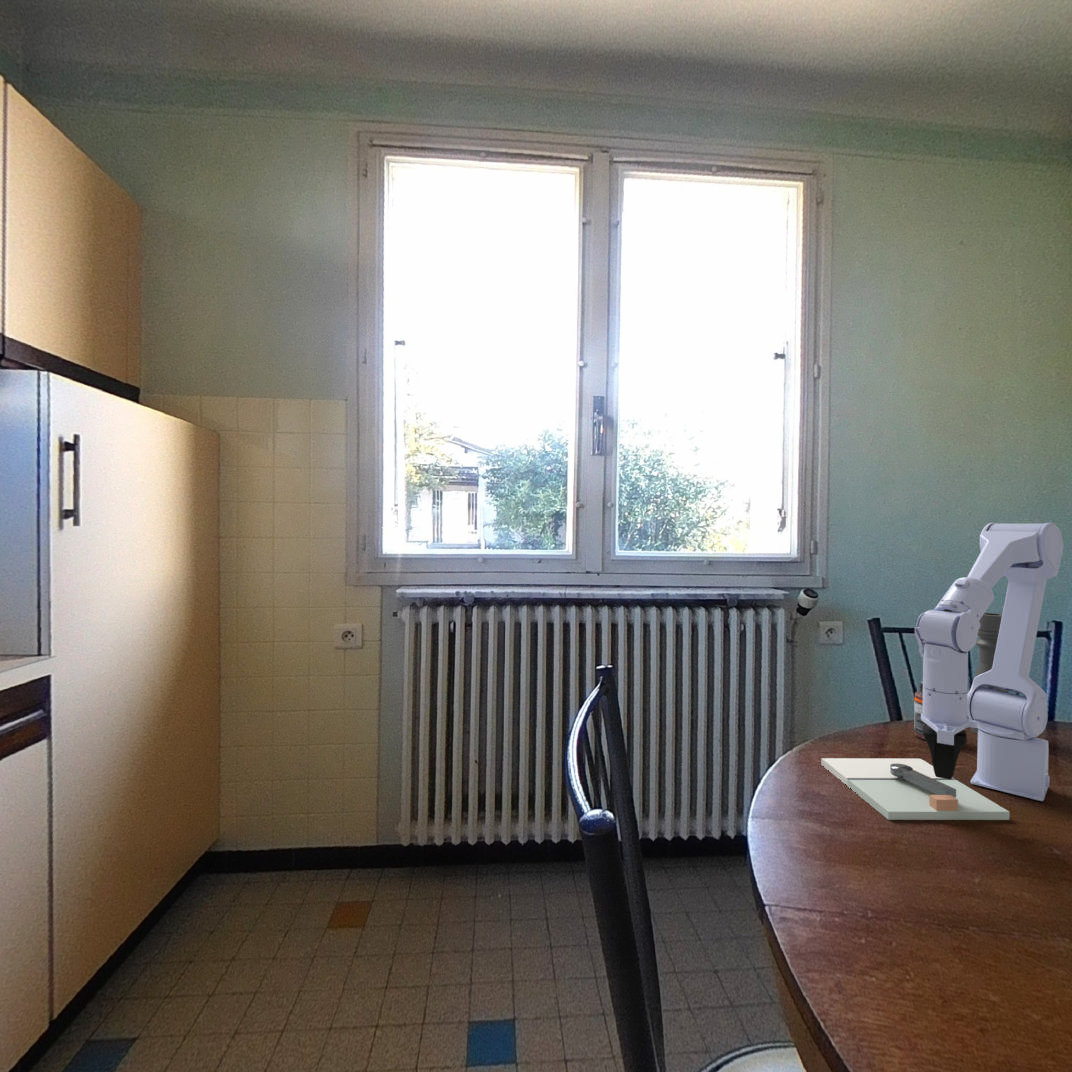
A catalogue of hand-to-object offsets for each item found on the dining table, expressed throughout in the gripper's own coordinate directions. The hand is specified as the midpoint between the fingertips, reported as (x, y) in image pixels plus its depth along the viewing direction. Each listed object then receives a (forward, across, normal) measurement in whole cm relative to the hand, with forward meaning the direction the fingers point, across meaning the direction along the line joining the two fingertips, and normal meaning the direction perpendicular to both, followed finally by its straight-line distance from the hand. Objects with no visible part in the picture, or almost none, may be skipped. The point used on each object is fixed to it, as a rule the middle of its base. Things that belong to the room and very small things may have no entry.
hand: (943, 776), depth 94 cm
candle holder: (+5, +46, -9) cm, 47 cm away
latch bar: (+3, +2, +3) cm, 5 cm away
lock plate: (+5, +4, +5) cm, 8 cm away
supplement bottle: (+5, +36, +1) cm, 36 cm away
